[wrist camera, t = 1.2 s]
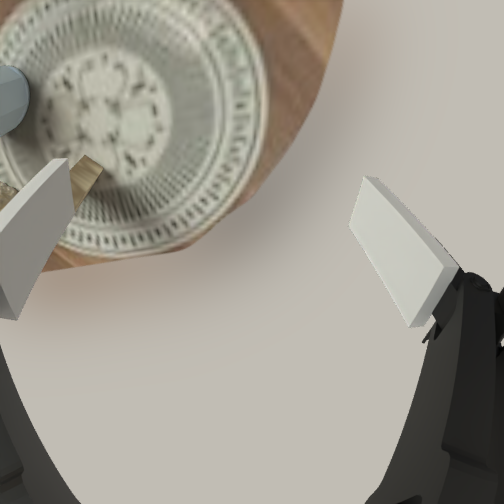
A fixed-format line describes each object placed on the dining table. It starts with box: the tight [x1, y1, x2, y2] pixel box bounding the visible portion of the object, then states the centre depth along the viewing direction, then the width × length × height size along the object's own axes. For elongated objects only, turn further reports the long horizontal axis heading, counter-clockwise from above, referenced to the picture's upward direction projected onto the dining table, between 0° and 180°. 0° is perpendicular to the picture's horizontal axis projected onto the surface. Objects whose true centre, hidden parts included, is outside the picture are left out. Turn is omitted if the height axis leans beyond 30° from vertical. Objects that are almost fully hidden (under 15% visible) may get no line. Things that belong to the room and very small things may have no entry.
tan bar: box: [69, 155, 104, 212], centre depth 29 cm, size 3×4×14 cm, turn 136°
